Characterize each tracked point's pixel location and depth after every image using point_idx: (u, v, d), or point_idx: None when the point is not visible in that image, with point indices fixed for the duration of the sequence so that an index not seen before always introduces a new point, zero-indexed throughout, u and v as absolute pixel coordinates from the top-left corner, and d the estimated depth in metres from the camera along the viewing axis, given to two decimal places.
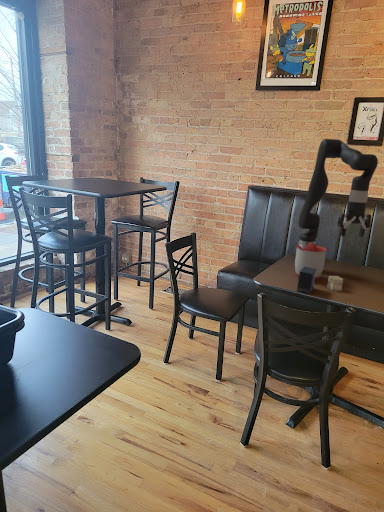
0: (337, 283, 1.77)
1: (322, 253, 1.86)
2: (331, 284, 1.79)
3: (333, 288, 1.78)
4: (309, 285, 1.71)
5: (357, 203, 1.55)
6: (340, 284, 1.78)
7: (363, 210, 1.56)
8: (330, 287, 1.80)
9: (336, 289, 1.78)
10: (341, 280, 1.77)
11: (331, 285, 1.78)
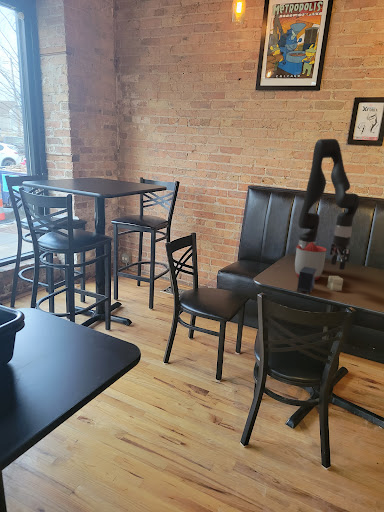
0: (337, 283, 1.77)
1: (322, 253, 1.86)
2: (331, 284, 1.79)
3: (333, 288, 1.78)
4: (309, 285, 1.71)
5: (350, 237, 1.72)
6: (340, 284, 1.78)
7: None
8: (330, 287, 1.80)
9: (336, 289, 1.78)
10: (341, 280, 1.77)
11: (331, 285, 1.78)
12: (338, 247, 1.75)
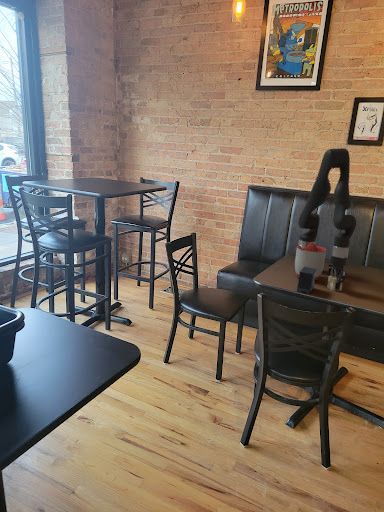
0: None
1: (322, 253, 1.86)
2: (331, 284, 1.79)
3: (333, 288, 1.78)
4: (309, 285, 1.71)
5: (347, 257, 1.75)
6: (340, 284, 1.78)
7: None
8: (330, 287, 1.80)
9: None
10: None
11: (331, 285, 1.79)
12: (335, 267, 1.78)
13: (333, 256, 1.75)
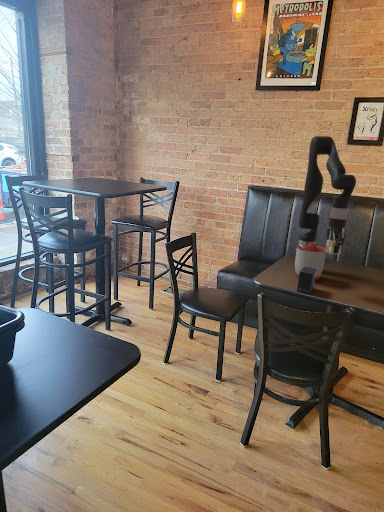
0: None
1: (322, 253, 1.86)
2: (329, 247, 1.73)
3: (332, 252, 1.72)
4: (309, 285, 1.71)
5: None
6: (339, 247, 1.72)
7: None
8: (328, 251, 1.74)
9: (335, 253, 1.72)
10: None
11: (330, 248, 1.72)
12: (334, 230, 1.72)
13: (331, 218, 1.69)
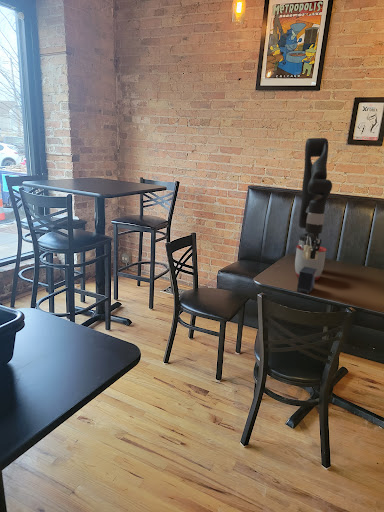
0: None
1: (322, 253, 1.86)
2: (306, 253, 1.71)
3: (308, 257, 1.70)
4: (309, 285, 1.71)
5: (322, 225, 1.67)
6: None
7: None
8: (305, 256, 1.72)
9: None
10: None
11: (306, 254, 1.71)
12: (310, 235, 1.70)
13: (308, 223, 1.67)
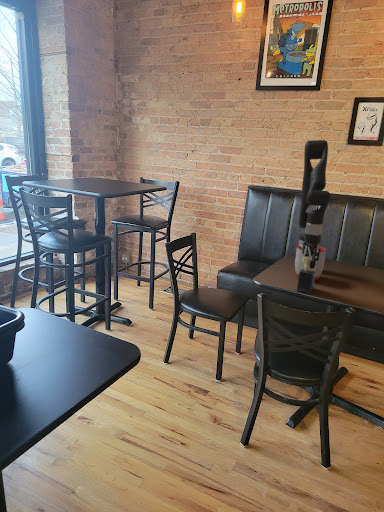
0: None
1: (322, 253, 1.86)
2: (304, 264, 1.73)
3: (307, 269, 1.72)
4: (309, 285, 1.71)
5: None
6: None
7: None
8: (304, 268, 1.73)
9: (310, 270, 1.72)
10: None
11: (305, 265, 1.72)
12: (309, 245, 1.71)
13: (306, 234, 1.68)
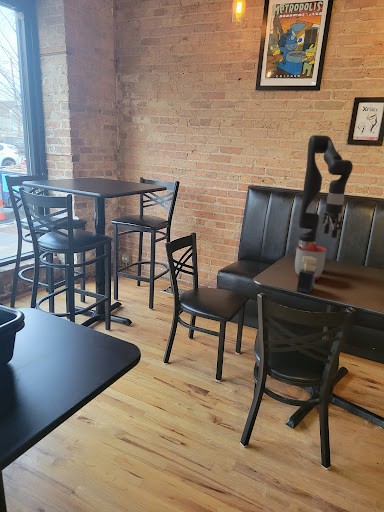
0: (311, 263, 1.71)
1: (322, 253, 1.86)
2: (304, 264, 1.73)
3: (306, 269, 1.72)
4: (309, 285, 1.71)
5: (342, 205, 1.71)
6: (314, 264, 1.71)
7: None
8: (304, 268, 1.73)
9: (310, 270, 1.72)
10: (315, 260, 1.71)
11: (305, 265, 1.72)
12: (330, 215, 1.74)
13: (328, 203, 1.71)
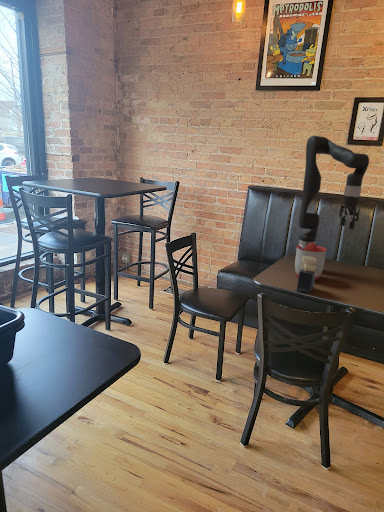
0: (310, 263, 1.71)
1: (322, 253, 1.86)
2: (304, 264, 1.73)
3: (306, 269, 1.72)
4: (309, 285, 1.71)
5: (359, 197, 1.76)
6: (314, 264, 1.71)
7: None
8: (304, 268, 1.73)
9: (310, 270, 1.72)
10: (315, 260, 1.71)
11: (305, 265, 1.72)
12: (348, 207, 1.78)
13: (346, 196, 1.76)
